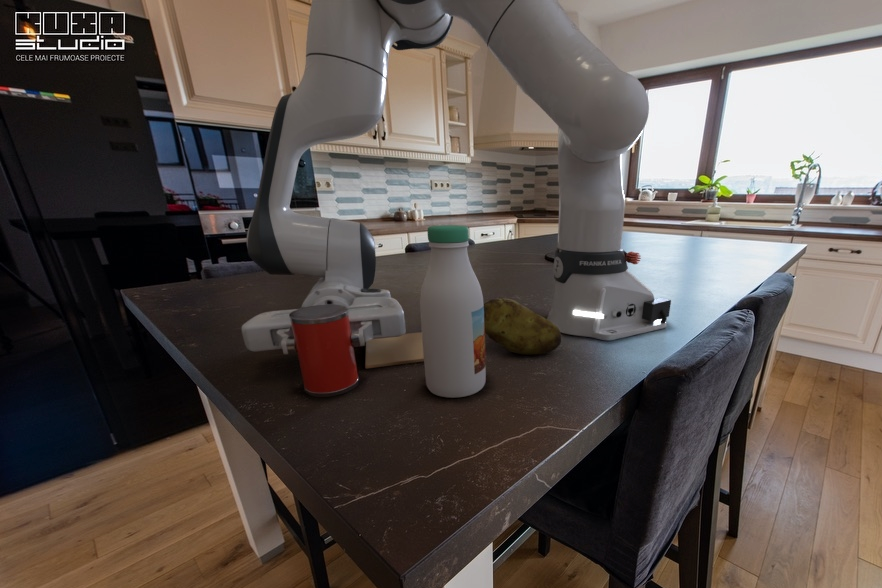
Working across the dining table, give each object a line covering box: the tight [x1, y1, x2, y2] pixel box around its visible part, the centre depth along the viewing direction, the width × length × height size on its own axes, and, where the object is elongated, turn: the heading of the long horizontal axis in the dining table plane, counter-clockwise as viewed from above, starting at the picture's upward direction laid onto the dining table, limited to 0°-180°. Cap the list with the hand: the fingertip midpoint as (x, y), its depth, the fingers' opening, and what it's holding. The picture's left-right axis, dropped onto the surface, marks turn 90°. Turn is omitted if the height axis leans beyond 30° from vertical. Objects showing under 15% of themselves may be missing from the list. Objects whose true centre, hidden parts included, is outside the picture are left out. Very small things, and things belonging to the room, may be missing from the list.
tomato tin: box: [289, 304, 360, 398], centre depth 50 cm, size 6×6×10 cm
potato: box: [483, 297, 562, 356], centre depth 62 cm, size 8×13×8 cm, turn 54°
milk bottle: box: [419, 224, 487, 399], centre depth 48 cm, size 8×8×20 cm
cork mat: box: [364, 331, 424, 370], centre depth 63 cm, size 12×12×1 cm
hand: (324, 344), depth 49 cm, fingers closed on tomato tin, 6 cm apart
